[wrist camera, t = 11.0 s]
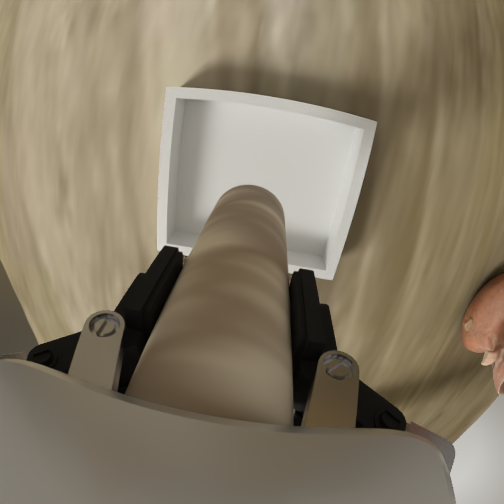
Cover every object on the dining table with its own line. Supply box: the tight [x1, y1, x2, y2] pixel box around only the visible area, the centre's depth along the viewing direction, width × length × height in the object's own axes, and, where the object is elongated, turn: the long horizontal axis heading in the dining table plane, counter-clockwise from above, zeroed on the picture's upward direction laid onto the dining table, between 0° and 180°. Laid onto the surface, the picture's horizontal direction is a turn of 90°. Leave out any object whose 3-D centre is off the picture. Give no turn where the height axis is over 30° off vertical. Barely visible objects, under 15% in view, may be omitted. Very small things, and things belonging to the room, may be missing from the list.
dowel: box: [125, 185, 294, 426], centre depth 11 cm, size 4×4×15 cm
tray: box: [157, 87, 377, 280], centre depth 26 cm, size 18×16×4 cm
